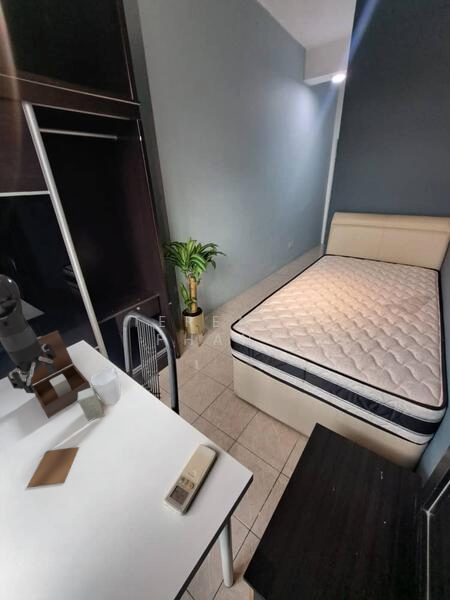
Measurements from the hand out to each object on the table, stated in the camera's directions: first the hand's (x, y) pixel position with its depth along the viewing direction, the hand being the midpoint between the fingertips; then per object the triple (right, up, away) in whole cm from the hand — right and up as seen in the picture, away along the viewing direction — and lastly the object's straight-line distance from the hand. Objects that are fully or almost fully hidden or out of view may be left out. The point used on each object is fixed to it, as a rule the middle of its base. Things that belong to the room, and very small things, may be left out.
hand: (42, 381), depth 80 cm
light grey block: (-4, -11, +17) cm, 20 cm away
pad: (+8, -23, -6) cm, 25 cm away
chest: (-4, -11, +18) cm, 21 cm away
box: (+12, -15, +9) cm, 21 cm away
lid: (-11, +4, +16) cm, 20 cm away
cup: (+16, -12, +15) cm, 25 cm away
